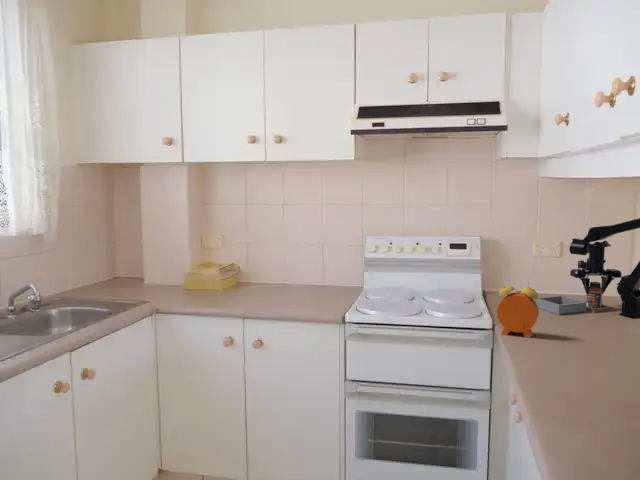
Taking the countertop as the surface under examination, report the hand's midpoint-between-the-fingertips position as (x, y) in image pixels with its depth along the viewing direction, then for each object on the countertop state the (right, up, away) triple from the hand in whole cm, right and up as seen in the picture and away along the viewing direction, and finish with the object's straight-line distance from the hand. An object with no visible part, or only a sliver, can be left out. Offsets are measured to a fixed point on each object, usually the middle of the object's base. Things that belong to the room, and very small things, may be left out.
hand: (594, 293), depth 229 cm
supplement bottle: (0, -7, +1) cm, 7 cm away
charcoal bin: (-15, -7, 0) cm, 16 cm away
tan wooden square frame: (0, -7, +1) cm, 7 cm away
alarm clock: (-45, -11, -35) cm, 58 cm away
